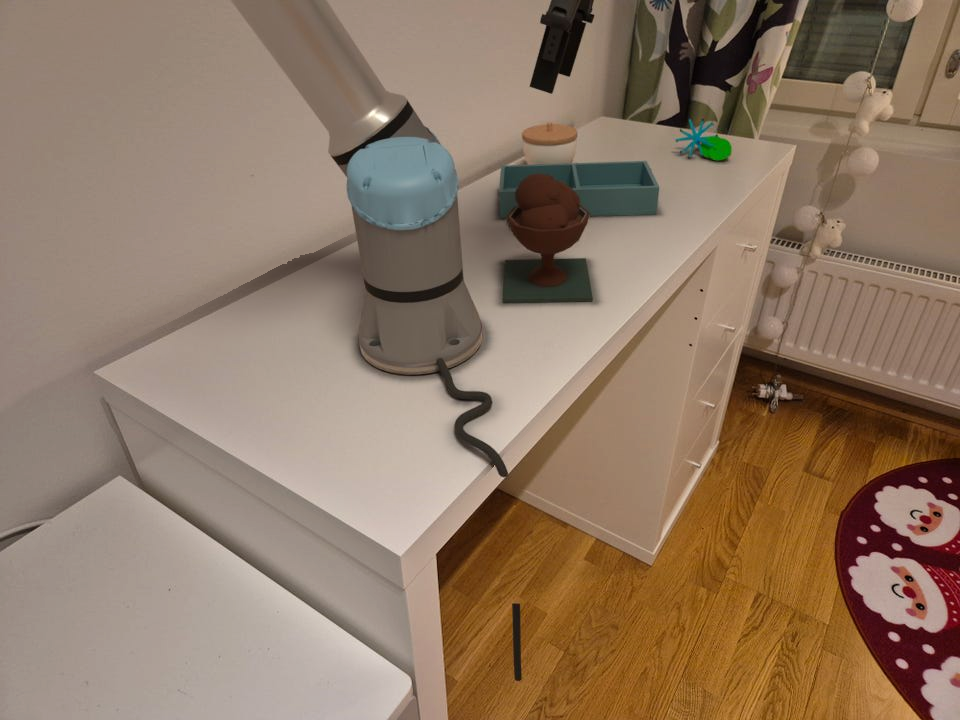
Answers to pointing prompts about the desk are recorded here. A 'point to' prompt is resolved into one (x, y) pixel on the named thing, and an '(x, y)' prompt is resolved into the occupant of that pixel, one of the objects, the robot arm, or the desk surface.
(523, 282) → the mat
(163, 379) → the desk surface
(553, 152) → the trinket box
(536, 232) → the ice cream bowl
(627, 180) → the divided tray
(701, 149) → the stick construction toy
